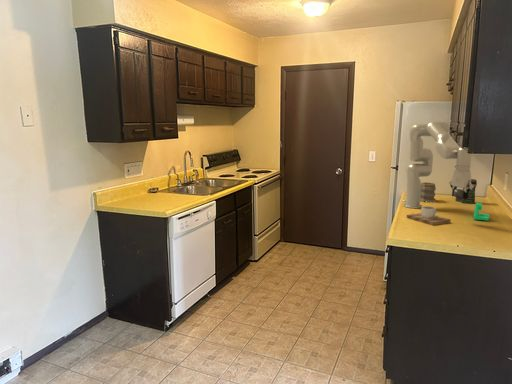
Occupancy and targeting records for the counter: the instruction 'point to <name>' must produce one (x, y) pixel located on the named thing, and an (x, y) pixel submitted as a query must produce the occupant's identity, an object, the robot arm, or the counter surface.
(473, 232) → the counter surface
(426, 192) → the tankard
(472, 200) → the coffee jar
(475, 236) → the counter surface
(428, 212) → the pipe flange plate
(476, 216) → the camera mount
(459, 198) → the grey sphere
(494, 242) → the counter surface
